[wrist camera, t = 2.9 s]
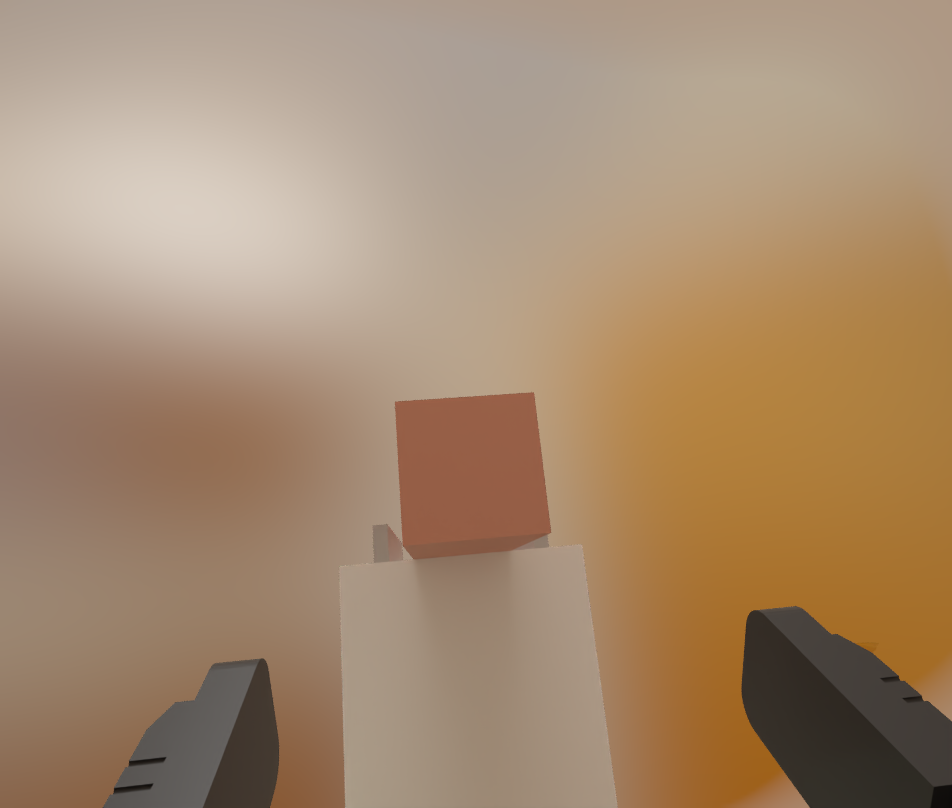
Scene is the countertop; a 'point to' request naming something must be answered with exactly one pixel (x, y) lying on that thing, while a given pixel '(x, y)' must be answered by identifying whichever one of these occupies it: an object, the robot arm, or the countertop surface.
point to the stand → (472, 681)
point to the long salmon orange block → (470, 475)
